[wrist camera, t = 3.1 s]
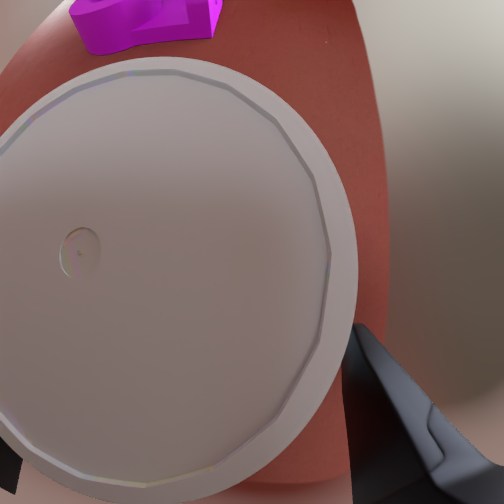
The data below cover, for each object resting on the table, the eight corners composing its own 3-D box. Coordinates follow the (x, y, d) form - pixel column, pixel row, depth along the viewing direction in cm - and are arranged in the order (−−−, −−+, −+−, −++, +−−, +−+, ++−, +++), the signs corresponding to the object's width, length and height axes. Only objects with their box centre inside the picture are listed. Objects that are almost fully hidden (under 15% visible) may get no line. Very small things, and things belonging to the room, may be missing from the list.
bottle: (164, 252, 18) (-2, 89, 4) (276, 255, 18) (351, 42, 4) (159, 364, 17) (-54, 434, 2) (275, 370, 17) (372, 534, 2)
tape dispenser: (74, 62, 23) (53, 25, 17) (104, 18, 26) (91, -16, 20) (211, 41, 23) (205, -9, 17) (223, 1, 26) (220, -39, 19)
